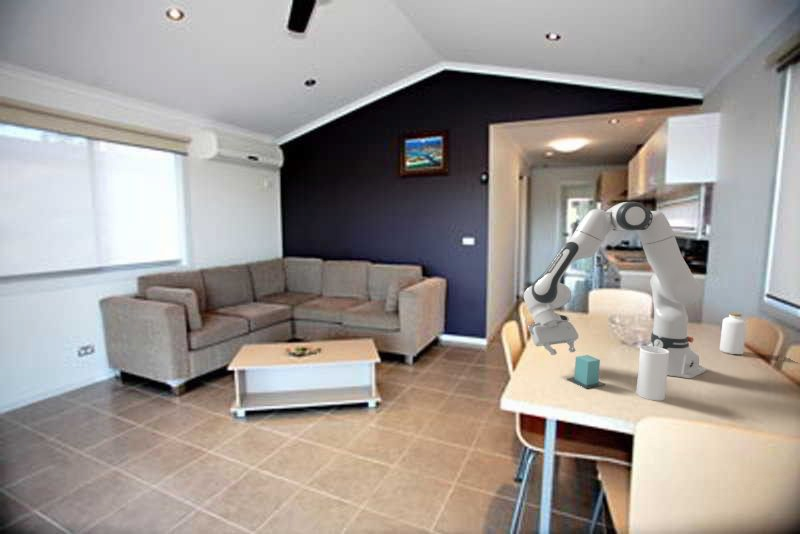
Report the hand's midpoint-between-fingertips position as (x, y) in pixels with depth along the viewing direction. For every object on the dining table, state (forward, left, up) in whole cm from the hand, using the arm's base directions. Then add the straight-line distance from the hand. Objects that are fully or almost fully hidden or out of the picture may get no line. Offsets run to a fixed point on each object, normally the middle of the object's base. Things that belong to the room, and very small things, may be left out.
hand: (563, 353), depth 157 cm
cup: (-12, +27, -8) cm, 31 cm away
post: (0, +11, -8) cm, 13 cm away
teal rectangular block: (0, +11, -7) cm, 13 cm away
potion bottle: (-89, +9, -8) cm, 90 cm away
